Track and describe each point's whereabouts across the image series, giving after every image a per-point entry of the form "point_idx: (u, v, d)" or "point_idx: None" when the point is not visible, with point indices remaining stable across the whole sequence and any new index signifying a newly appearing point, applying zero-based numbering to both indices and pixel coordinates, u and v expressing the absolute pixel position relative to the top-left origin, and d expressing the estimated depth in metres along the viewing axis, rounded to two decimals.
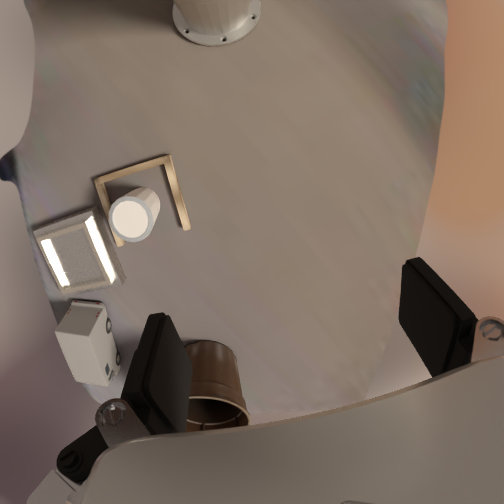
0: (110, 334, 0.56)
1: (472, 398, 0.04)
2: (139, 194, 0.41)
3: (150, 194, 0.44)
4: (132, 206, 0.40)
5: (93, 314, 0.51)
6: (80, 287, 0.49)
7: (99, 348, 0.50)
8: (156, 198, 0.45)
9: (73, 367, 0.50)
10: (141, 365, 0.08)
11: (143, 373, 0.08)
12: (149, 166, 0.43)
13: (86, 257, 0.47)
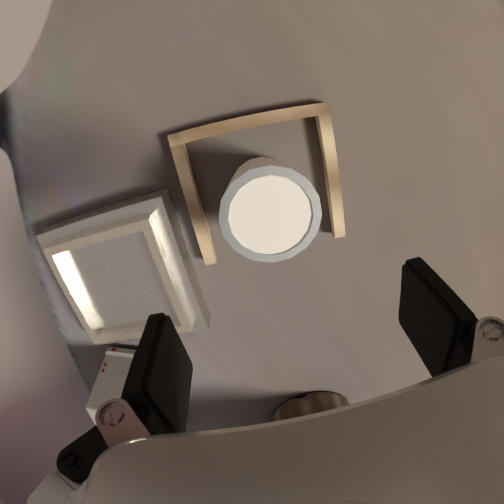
0: None
1: (472, 398, 0.04)
2: None
3: None
4: (280, 188, 0.19)
5: None
6: (129, 335, 0.29)
7: None
8: None
9: None
10: (141, 365, 0.08)
11: (143, 373, 0.08)
12: (290, 117, 0.22)
13: (142, 284, 0.27)
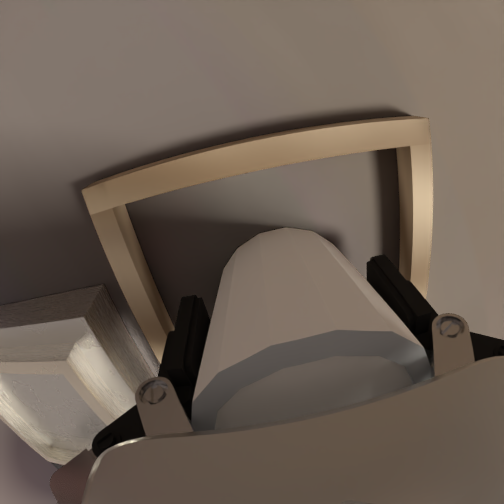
0: None
1: (472, 398, 0.04)
2: (361, 291, 0.08)
3: (353, 266, 0.10)
4: (353, 376, 0.07)
5: None
6: None
7: None
8: None
9: None
10: (181, 343, 0.09)
11: (184, 350, 0.09)
12: (354, 147, 0.10)
13: (90, 421, 0.14)
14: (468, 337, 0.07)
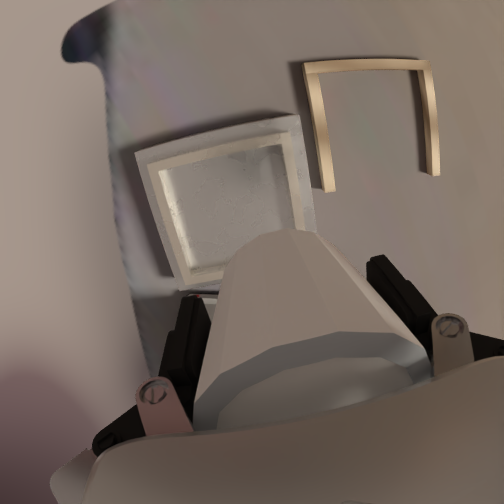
0: None
1: (472, 398, 0.04)
2: (362, 292, 0.08)
3: (354, 267, 0.10)
4: (354, 377, 0.07)
5: None
6: None
7: None
8: None
9: None
10: (181, 343, 0.09)
11: (184, 350, 0.09)
12: (403, 67, 0.22)
13: (261, 209, 0.27)
14: (468, 337, 0.07)
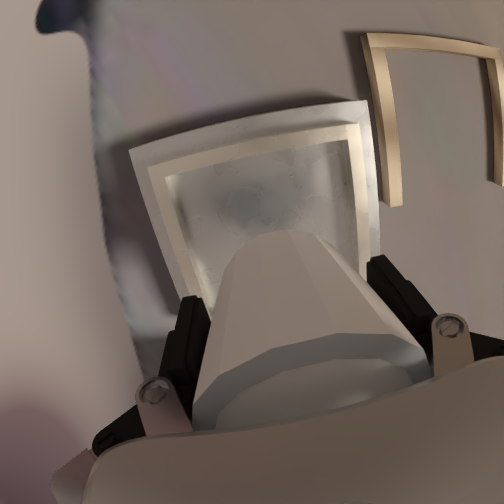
0: None
1: (472, 398, 0.04)
2: (361, 293, 0.08)
3: (353, 268, 0.10)
4: (353, 378, 0.07)
5: None
6: None
7: None
8: None
9: None
10: (181, 343, 0.09)
11: (184, 350, 0.09)
12: (476, 52, 0.14)
13: (312, 231, 0.19)
14: (468, 337, 0.07)
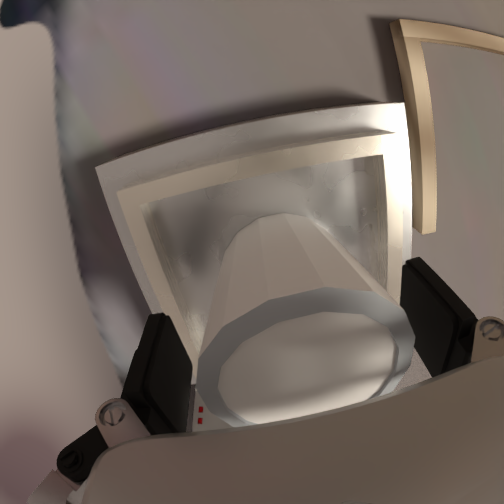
0: None
1: (472, 398, 0.04)
2: (348, 262, 0.09)
3: (343, 247, 0.12)
4: (342, 334, 0.08)
5: None
6: None
7: None
8: None
9: None
10: (141, 365, 0.08)
11: (143, 373, 0.08)
12: None
13: None
14: None
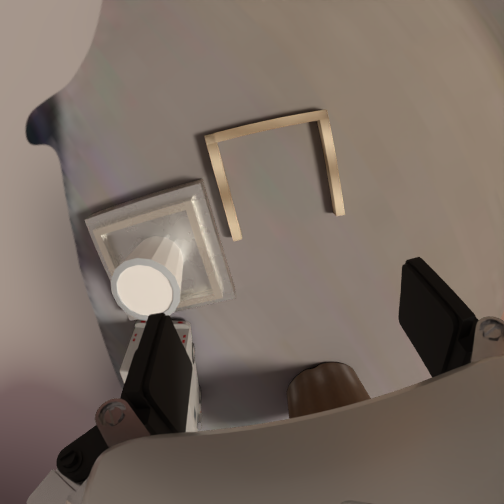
0: (194, 364, 0.42)
1: (472, 398, 0.04)
2: (156, 252, 0.28)
3: (170, 248, 0.30)
4: (147, 273, 0.26)
5: None
6: None
7: (190, 388, 0.35)
8: (179, 253, 0.32)
9: None
10: (141, 365, 0.08)
11: (143, 373, 0.08)
12: (298, 121, 0.30)
13: None
14: None
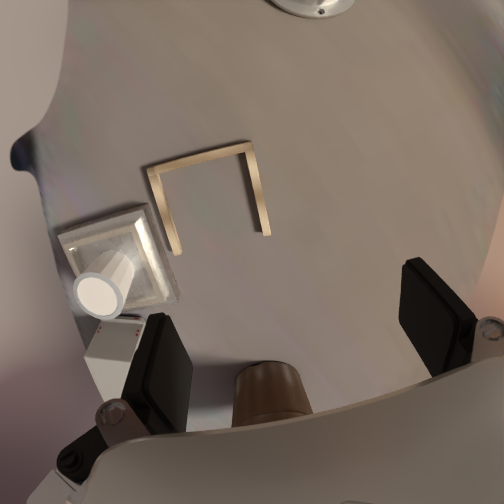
0: None
1: (472, 398, 0.04)
2: (105, 267, 0.33)
3: (120, 262, 0.36)
4: (98, 283, 0.32)
5: (132, 332, 0.43)
6: None
7: None
8: (129, 265, 0.38)
9: (106, 397, 0.41)
10: (141, 365, 0.08)
11: (143, 373, 0.08)
12: (225, 154, 0.35)
13: None
14: None
